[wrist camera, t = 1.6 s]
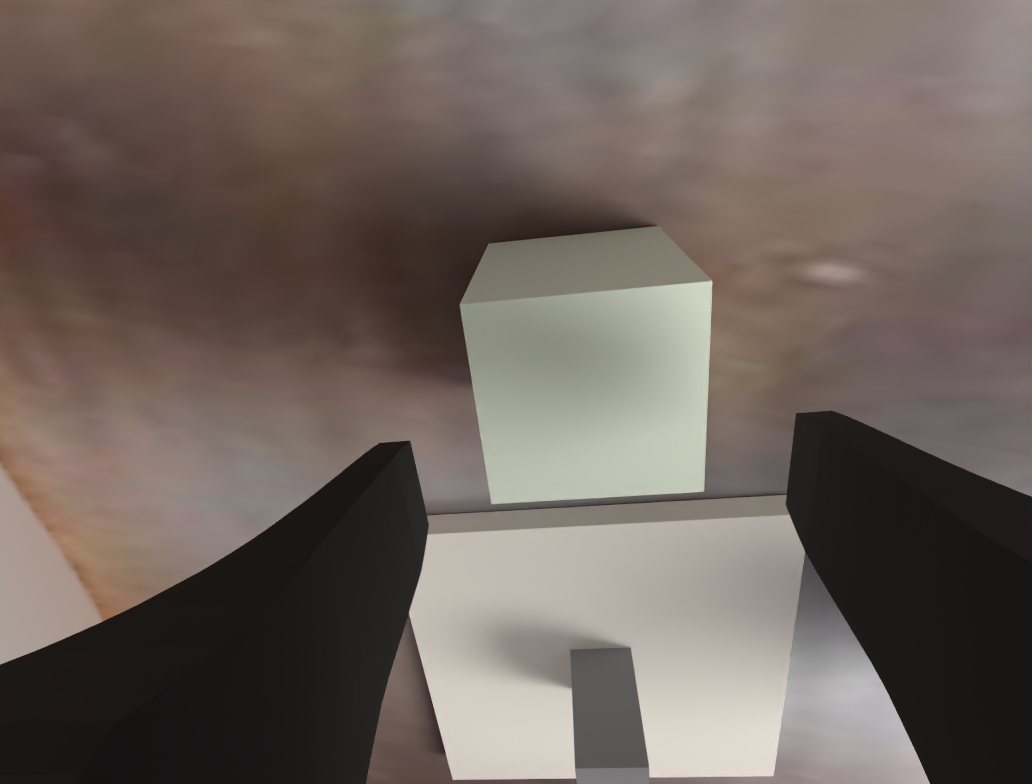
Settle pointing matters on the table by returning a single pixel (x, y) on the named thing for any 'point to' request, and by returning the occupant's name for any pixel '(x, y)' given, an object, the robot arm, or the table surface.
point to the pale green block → (589, 366)
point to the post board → (610, 638)
